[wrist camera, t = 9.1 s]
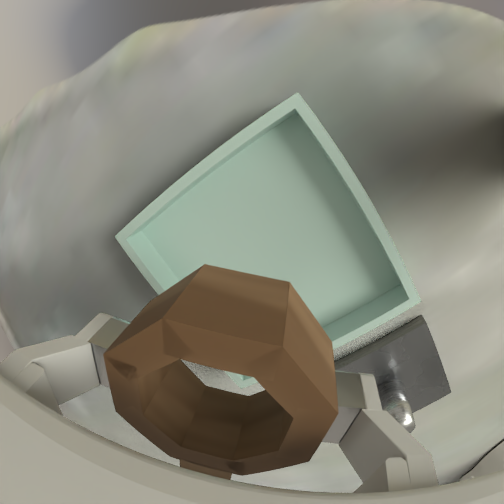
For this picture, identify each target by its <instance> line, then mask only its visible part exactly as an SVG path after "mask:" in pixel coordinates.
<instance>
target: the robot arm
mask: <svg viewBox="0 0 504 504" xmlns="http://www.w3.org/2000/svg"><path fill="white" fill-rule="evenodd" d="M130 323H131V322H128V321H125V320H122V319H120V318H117V317H113V316H111V315H108V314H106V313H99V314H98V315H97V316H96V317H95V318H94V319H93V320H91V321H90V322H89V323H88V324H87V325H86V326H85V327H84V328H83V329H82V330H81V331H80V332H79V333H78V334H77V335H76V336H73V335H69V336H65V337H62V338H58V339H54V340H50V341H47V342H43V343H39V344H35V345H31V346H27V347H24V348H20V349H16V350H14V351H13V352H12V353H11V354H10V355H9V356H8V357H6V358H5V359H4V360H3V361H2V362H1V363H0V504H504V441H503V442H502V443H501V444H499V445H498V446H497V447H496V448H494V449H493V450H492V451H491V452H490V453H488V454H487V455H486V456H485V457H484V458H483V459H482V460H481V461H480V462H479V463H478V464H477V465H476V466H475V468H474V469H472V470H471V471H470V472H468V473H467V474H466V475H464V476H463V477H462V478H461V479H460V482H455V483H450V484H445V485H439V484H438V479H437V475H436V471H435V467H434V463H433V459H432V455H431V454H430V453H429V452H428V451H427V450H426V449H425V448H424V447H423V446H422V445H421V444H420V443H419V442H418V441H417V440H416V439H415V438H414V437H413V436H412V435H411V434H410V433H409V432H408V431H407V430H406V429H405V428H404V427H403V426H402V425H401V424H400V423H398V422H397V421H396V420H395V419H394V418H393V417H392V416H391V415H390V414H389V413H388V412H387V411H384V410H382V406H381V402H380V398H379V393H378V389H377V385H376V381H375V377H374V375H373V374H366V373H353V372H345V371H337V370H335V376H336V387H337V399H338V412H339V414H338V415H337V417H336V419H335V420H334V422H333V424H332V425H331V427H330V429H329V430H328V432H327V434H326V435H325V437H324V439H323V440H322V442H328V443H337V444H339V446H340V448H341V449H342V451H343V453H344V454H345V456H346V457H347V459H348V460H349V462H350V463H351V465H352V466H353V468H354V469H355V471H356V472H357V474H358V475H359V477H360V479H361V480H362V482H363V484H362V485H361V486H360V487H359V488H358V489H357V490H356V491H354V492H353V493H328V492H310V491H298V490H288V489H280V488H273V487H266V486H259V485H253V484H248V483H243V482H237V481H233V480H228V479H224V478H219V477H215V476H211V475H207V474H203V473H200V472H196V471H192V470H189V469H185V468H182V467H179V466H176V465H173V464H169V463H166V462H164V461H161V460H158V459H155V458H152V457H149V456H147V455H144V454H141V453H139V452H136V451H134V450H131V449H129V448H127V447H124V446H122V445H119V444H117V443H115V442H113V441H110V440H108V439H106V438H104V437H102V436H100V435H98V434H96V433H94V432H92V431H90V430H88V429H86V428H84V427H82V426H80V425H78V424H76V423H74V422H72V421H71V420H69V419H67V418H65V417H63V414H62V412H61V410H60V408H59V405H60V404H62V403H65V402H67V401H69V400H71V399H73V398H75V397H77V396H79V395H81V394H83V393H85V392H87V391H89V390H91V389H93V388H95V387H97V386H99V385H100V384H101V385H104V386H106V387H109V388H110V385H109V381H108V376H107V372H106V367H105V362H104V357H103V354H104V352H105V351H106V350H107V349H108V348H109V347H110V346H111V344H112V343H113V342H114V341H115V340H116V339H117V338H118V336H119V335H120V334H121V333H122V332H123V331H124V330H125V329H126V327H127V326H128V325H129V324H130Z"/></svg>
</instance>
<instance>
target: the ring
mask: <svg viewBox="0 0 504 504" xmlns="http://www.w3.org/2000/svg"><path fill="white" fill-rule="evenodd" d="M103 357H104V362H105V367H106V372H107V376H108V381H109V385H110V390H111V394H112V398H113V402H114V406H115V410H116V412H117V413H118V414H119V415H120V416H122V417H123V418H124V419H125V420H126V421H127V422H128V423H129V424H131V425H132V426H133V427H134V428H135V429H136V430H137V431H139V432H140V433H141V434H142V435H143V436H145V437H146V438H147V439H148V440H150V441H151V442H152V443H153V444H154V445H156V446H157V447H158V448H160V449H161V450H162V451H163V452H165V453H166V454H167V455H169V456H170V457H173V458H176V459H179V460H180V467H182V468H185V469H189V470H192V471H196V472H200V473H203V474H207V475H211V476H215V477H219V478H224V479H228V480H230V478H231V475H232V473H233V474H237V475H248V474H254V473H260V472H265V471H270V470H275V469H280V468H284V467H289V466H293V465H297V464H301V463H305V462H308V461H309V460H310V459H311V457H312V456H313V454H314V453H315V451H316V450H317V448H318V447H319V445H320V443H321V442H322V440H323V439H324V437H325V435H326V434H327V432H328V430H329V429H330V427H331V425H332V424H333V422H334V420H335V419H336V417H337V415H338V414H339V412H338V399H337V387H336V376H335V365H334V355H333V346H332V341H331V340H330V338H329V337H328V335H327V334H326V332H325V331H324V330H323V328H322V327H321V325H320V324H319V322H318V321H317V320H316V318H315V317H314V315H313V314H312V313H311V311H310V310H309V308H308V307H307V306H306V304H305V303H304V301H303V300H302V298H301V297H300V296H299V294H298V293H297V291H296V290H295V289H294V287H293V286H292V284H291V283H290V282H288V281H283V280H278V279H273V278H268V277H264V276H259V275H254V274H249V273H245V272H240V271H235V270H230V269H226V268H221V267H216V266H212V265H207V264H204V265H203V266H201V267H200V268H198V269H197V270H195V271H194V272H192V273H191V274H189V275H188V276H186V277H185V278H183V279H182V280H180V281H179V282H178V283H176V284H175V285H173V286H172V287H170V288H169V289H167V290H166V291H164V292H163V293H161V294H160V295H158V296H157V297H156V298H154V299H153V300H151V301H150V302H149V303H148V304H147V305H146V306H145V307H144V308H143V310H142V311H141V312H140V313H139V314H138V315H137V316H136V317H135V318H134V320H133V321H132V322H131V323H130V324H129V325H128V326H127V327H126V329H125V330H124V331H123V332H122V333H121V334H120V335H119V336H118V338H117V339H116V340H115V341H114V342H113V343H112V344H111V346H110V347H109V348H108V349H107V350H106V351H105V352H104V354H103ZM180 359H182V360H186V361H189V362H193V363H197V364H200V365H204V366H208V367H212V368H216V369H220V370H224V371H228V372H232V373H236V374H241V375H245V376H250V377H254V378H255V379H256V380H257V381H258V382H259V383H260V384H261V385H262V387H263V388H264V389H265V390H264V391H262V392H259V393H256V394H254V395H251V396H246V395H241V394H237V393H232V392H228V391H224V390H220V389H216V388H212V387H208V386H206V385H205V384H204V383H203V382H202V381H201V380H200V379H199V378H198V377H197V376H196V375H195V374H194V373H193V372H192V371H191V370H190V369H189V368H188V367H187V366H186V365H185V364H184V363H183V362H182V361H181V360H180Z"/></svg>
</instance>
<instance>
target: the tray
mask: <svg viewBox="0 0 504 504" xmlns="http://www.w3.org/2000/svg"><path fill="white" fill-rule="evenodd" d="M115 238H116V239H117V241H118V242H119V243H120V245H121V246H122V248H123V249H124V250H125V252H126V253H127V255H128V256H129V257H130V259H131V260H132V261H133V263H134V264H135V265H136V267H137V268H138V269H139V271H140V272H141V273H142V275H143V276H144V277H145V279H146V280H147V281H148V282H149V284H150V285H151V286H152V288H153V289H154V290H155V291H156V293H157V294H158V295H160V294H161V293H163V292H164V291H166V290H167V289H169V288H170V287H172V286H173V285H175V284H176V283H178V282H179V281H180V280H182V279H183V278H185V277H186V276H188V275H189V274H191V273H192V272H194V271H195V270H197V269H198V268H200V267H201V266H203V265H204V264H207V265H212V266H216V267H221V268H226V269H230V270H235V271H240V272H245V273H249V274H254V275H259V276H264V277H268V278H273V279H278V280H283V281H288V282H290V283H291V284H292V286H293V287H294V289H295V290H296V291H297V293H298V294H299V296H300V297H301V298H302V300H303V301H304V303H305V304H306V306H307V307H308V308H309V310H310V311H311V313H312V314H313V315H314V317H315V318H316V320H317V321H318V322H319V324H320V325H321V327H322V328H323V330H324V331H325V332H326V334H327V335H328V337H329V338H330V340H331V341H332V346H333V350H334V349H336V348H338V347H340V346H342V345H344V344H346V343H348V342H350V341H352V340H354V339H356V338H358V337H359V336H361V335H363V334H365V333H367V332H369V331H371V330H373V329H375V328H376V327H378V326H380V325H382V324H384V323H385V322H387V321H389V320H391V319H392V318H394V317H396V316H398V315H399V314H401V313H403V312H405V311H406V310H408V309H410V308H411V307H413V306H415V305H416V304H418V303H419V302H421V299H420V297H419V295H418V293H417V290H416V288H415V286H414V284H413V281H412V279H411V277H410V275H409V273H408V271H407V269H406V266H405V264H404V262H403V260H402V258H401V256H400V254H399V252H398V250H397V248H396V246H395V244H394V242H393V240H392V238H391V237H390V235H389V233H388V231H387V229H386V227H385V225H384V223H383V222H382V220H381V218H380V216H379V214H378V213H377V211H376V209H375V207H374V205H373V204H372V202H371V200H370V199H369V197H368V195H367V193H366V192H365V190H364V188H363V187H362V185H361V183H360V182H359V180H358V178H357V177H356V175H355V174H354V172H353V170H352V169H351V167H350V166H349V164H348V162H347V161H346V159H345V158H344V156H343V155H342V153H341V152H340V150H339V149H338V147H337V146H336V144H335V143H334V141H333V140H332V138H331V137H330V135H329V134H328V133H327V131H326V130H325V128H324V127H323V125H322V124H321V123H320V121H319V120H318V118H317V117H316V116H315V114H314V113H313V112H312V110H311V109H310V107H309V106H308V105H307V103H306V102H305V101H304V100H303V98H302V97H301V96H300V94H299V93H298V92H297V93H296V94H294V95H293V96H291V97H290V98H288V99H287V100H285V101H283V102H282V103H280V104H279V105H277V106H276V107H274V108H273V109H272V110H270V111H269V112H267V113H266V114H264V115H263V116H261V117H260V118H258V119H257V120H256V121H254V122H253V123H251V124H250V125H249V126H247V127H246V128H244V129H243V130H242V131H240V132H239V133H237V134H236V135H235V136H233V137H232V138H231V139H229V140H228V141H227V142H225V143H224V144H223V145H221V146H220V147H219V148H217V149H216V150H215V151H213V152H212V153H211V154H210V155H208V156H207V157H206V158H205V159H203V160H202V161H201V162H199V163H198V164H197V165H196V166H194V167H193V168H192V169H191V170H189V171H188V172H187V173H186V174H185V175H183V176H182V177H181V178H180V179H179V180H177V181H176V182H175V183H174V184H173V185H171V186H170V187H169V188H168V189H167V190H165V191H164V192H163V193H162V194H161V195H160V196H159V197H157V198H156V199H155V200H154V201H153V202H152V203H151V204H149V205H148V206H147V207H146V208H145V209H144V210H143V211H142V212H141V213H139V214H138V215H137V216H136V217H135V218H134V219H133V220H132V221H131V222H130V223H129V224H127V225H126V226H125V227H124V228H123V229H122V230H121V231H120V232H119V233H118V234H117V235H116V236H115ZM225 372H226V374H227V375H228V376H229V377H230V378H231V379H232V380H233V381H234V382H235V383H236V384H237V385H238V386H239V387H240V388H241V389H242V388H245V387H248V386H250V385H253V384H255V383H258V381H257V380H256V379H255V378H254V377H250V376H245V375H241V374H236V373H232V372H228V371H225Z"/></svg>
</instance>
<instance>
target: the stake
mask: <svg viewBox="0 0 504 504" xmlns="http://www.w3.org/2000/svg"><path fill="white" fill-rule="evenodd" d="M334 365H335V370H337V371H345V372H353V373H366V374H373V375H374V377H375V381H376V385H377V389H378V393H379V398H380V402H381V406H382V410H384V411H387V412H388V413H389V414H390V415H391V416H392V417H393V418H394V419H395V420H396V421H397V422H398V423H400V424H401V425H402V426H403V427H404V428H405V429H406V430H407V431H408V432H409V433H411V432H412V431H413V430H414V428H415V421H414V418H413V414H412V413H413V412H415V411H417V410H419V409H421V408H423V407H425V406H427V405H429V404H431V403H433V402H435V401H437V400H439V399H440V398H442V397H444V396H446V395H447V394H449V393H451V390H450V387H449V384H448V380H447V377H446V374H445V371H444V368H443V366H442V363H441V360H440V357H439V354H438V352H437V349H436V346H435V344H434V341H433V338H432V336H431V333H430V331H429V328H428V326H427V323H426V321H425V320H424V318H423V316H422V315H421V316H419V317H417V318H416V319H414V320H412V321H411V322H409V323H407V324H406V325H404V326H402V327H400V328H399V329H397V330H395V331H393V332H391V333H390V334H388V335H386V336H384V337H382V338H380V339H379V340H377V341H375V342H373V343H371V344H369V345H367V346H365V347H363V348H361V349H359V350H357V351H355V352H353V353H351V354H349V355H347V356H345V357H343V358H341V359H339V360H337V361H335V362H334Z"/></svg>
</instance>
